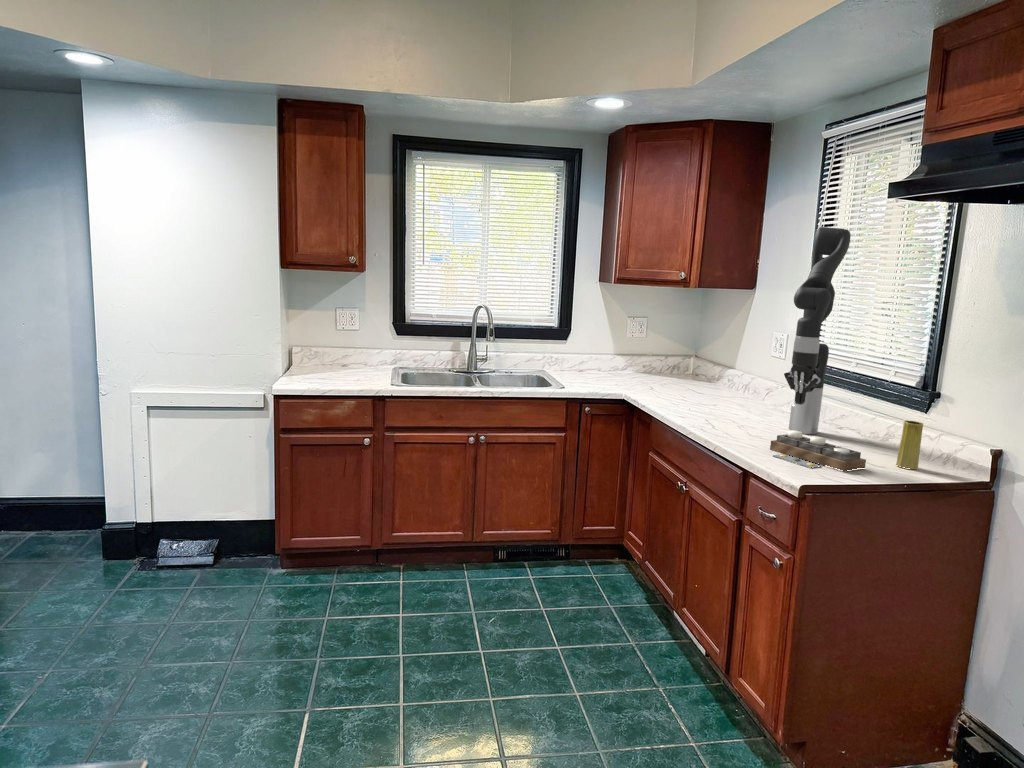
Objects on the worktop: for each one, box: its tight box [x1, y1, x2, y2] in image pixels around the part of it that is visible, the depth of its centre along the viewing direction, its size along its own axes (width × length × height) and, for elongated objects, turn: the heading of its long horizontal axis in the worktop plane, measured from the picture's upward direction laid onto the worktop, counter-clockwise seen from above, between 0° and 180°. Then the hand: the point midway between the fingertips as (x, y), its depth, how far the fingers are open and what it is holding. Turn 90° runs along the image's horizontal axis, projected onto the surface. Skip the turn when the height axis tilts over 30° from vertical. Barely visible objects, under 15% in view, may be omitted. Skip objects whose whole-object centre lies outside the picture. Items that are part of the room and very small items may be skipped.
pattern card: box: [772, 453, 822, 468], centre depth 214 cm, size 14×5×1 cm, turn 30°
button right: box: [834, 447, 851, 453], centre depth 210 cm, size 4×4×2 cm
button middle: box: [809, 435, 827, 446], centre depth 217 cm, size 4×4×2 cm
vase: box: [895, 420, 924, 470], centre depth 213 cm, size 6×6×14 cm
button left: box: [787, 429, 803, 440], centre depth 225 cm, size 4×4×2 cm
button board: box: [769, 433, 867, 471], centre depth 218 cm, size 27×10×5 cm, turn 30°
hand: (799, 403), depth 223 cm, fingers closed
